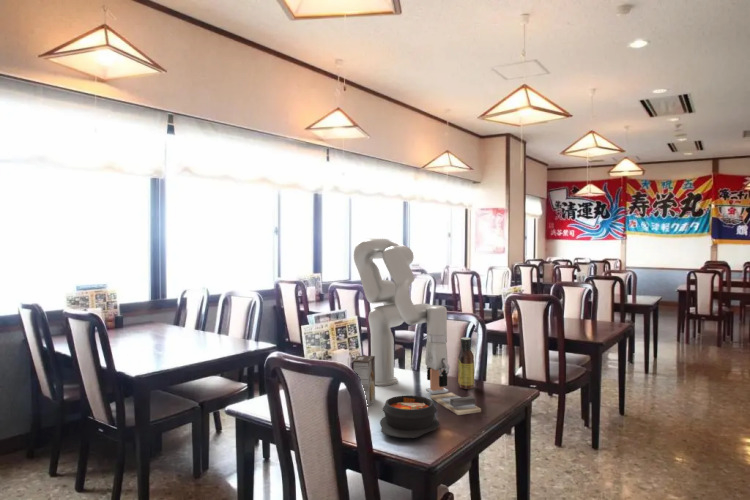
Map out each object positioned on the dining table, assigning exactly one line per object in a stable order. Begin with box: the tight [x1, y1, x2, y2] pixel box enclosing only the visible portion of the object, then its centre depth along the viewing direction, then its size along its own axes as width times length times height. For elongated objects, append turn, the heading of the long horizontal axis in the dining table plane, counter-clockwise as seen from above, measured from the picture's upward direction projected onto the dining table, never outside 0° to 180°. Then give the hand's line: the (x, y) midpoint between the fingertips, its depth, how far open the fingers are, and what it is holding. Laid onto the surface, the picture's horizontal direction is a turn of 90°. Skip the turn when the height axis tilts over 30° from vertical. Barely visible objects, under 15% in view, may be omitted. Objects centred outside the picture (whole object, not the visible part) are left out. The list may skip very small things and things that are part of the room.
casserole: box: [379, 394, 440, 439], centre depth 159 cm, size 25×19×8 cm
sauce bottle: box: [457, 336, 475, 390], centre depth 204 cm, size 6×6×20 cm
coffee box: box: [352, 355, 376, 407], centre depth 186 cm, size 9×6×16 cm
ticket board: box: [430, 392, 482, 416], centre depth 182 cm, size 20×9×4 cm, turn 21°
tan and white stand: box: [425, 369, 449, 395], centre depth 195 cm, size 5×7×9 cm
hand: (436, 382), depth 195 cm, fingers open, 9 cm apart
